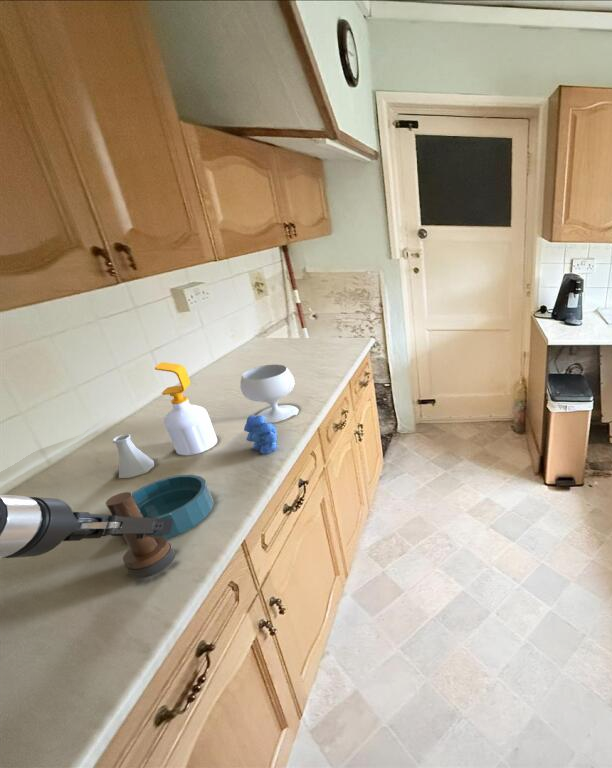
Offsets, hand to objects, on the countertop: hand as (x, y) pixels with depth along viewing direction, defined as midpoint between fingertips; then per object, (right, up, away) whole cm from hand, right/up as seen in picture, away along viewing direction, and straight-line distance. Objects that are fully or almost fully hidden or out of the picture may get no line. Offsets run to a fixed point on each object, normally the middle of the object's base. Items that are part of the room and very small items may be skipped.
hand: (158, 526), depth 73 cm
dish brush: (0, -6, -1) cm, 6 cm away
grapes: (0, +8, +33) cm, 34 cm away
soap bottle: (-20, +9, +35) cm, 41 cm away
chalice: (-8, +16, +51) cm, 54 cm away
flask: (-27, +4, +25) cm, 38 cm away
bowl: (-7, -2, +11) cm, 13 cm away
